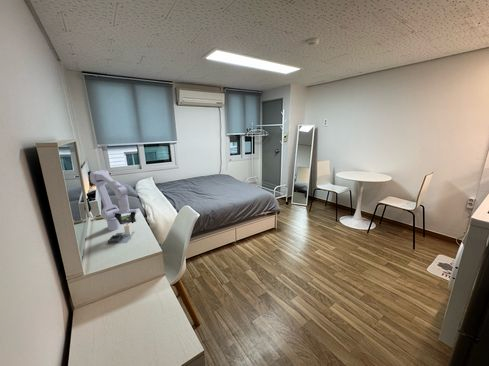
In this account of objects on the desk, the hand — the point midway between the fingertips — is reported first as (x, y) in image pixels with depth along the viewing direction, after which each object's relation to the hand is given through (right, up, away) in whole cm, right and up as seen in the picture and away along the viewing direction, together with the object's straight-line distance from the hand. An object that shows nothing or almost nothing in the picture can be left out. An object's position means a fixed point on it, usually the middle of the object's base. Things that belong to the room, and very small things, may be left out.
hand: (127, 223), depth 142 cm
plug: (0, -8, +2) cm, 8 cm away
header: (-4, -10, -6) cm, 12 cm away
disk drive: (-14, -4, +26) cm, 29 cm away
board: (-2, -10, -2) cm, 11 cm away
